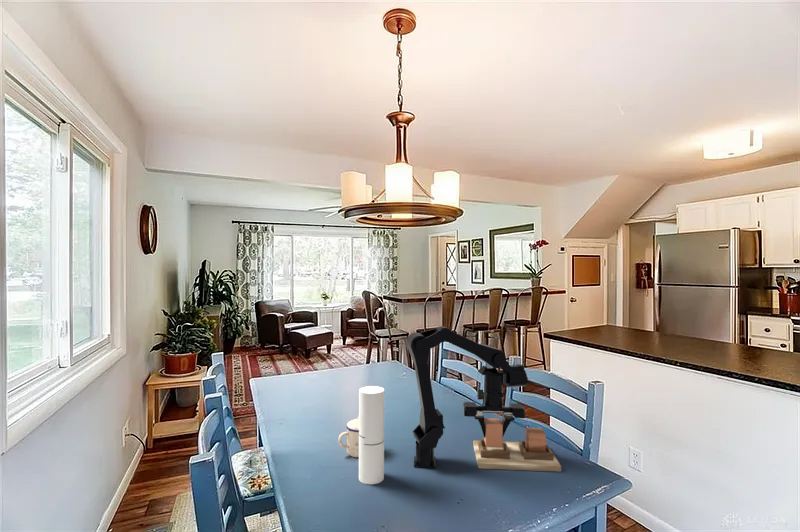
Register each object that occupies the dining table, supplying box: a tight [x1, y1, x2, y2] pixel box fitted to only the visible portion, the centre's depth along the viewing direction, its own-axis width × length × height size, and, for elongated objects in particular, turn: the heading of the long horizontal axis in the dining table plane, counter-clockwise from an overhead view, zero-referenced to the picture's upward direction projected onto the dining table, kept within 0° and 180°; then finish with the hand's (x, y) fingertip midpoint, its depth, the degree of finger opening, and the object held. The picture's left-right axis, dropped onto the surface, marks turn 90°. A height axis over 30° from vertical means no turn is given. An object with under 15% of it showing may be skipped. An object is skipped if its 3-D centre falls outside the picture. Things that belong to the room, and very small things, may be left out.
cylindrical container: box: [358, 385, 385, 485], centre depth 118 cm, size 7×7×25 cm
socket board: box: [472, 427, 562, 473], centre depth 131 cm, size 16×24×8 cm, turn 86°
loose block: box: [483, 417, 504, 447], centre depth 131 cm, size 5×5×7 cm
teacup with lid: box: [337, 415, 359, 459], centre depth 133 cm, size 12×9×12 cm
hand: (493, 437), depth 131 cm, fingers closed on loose block, 5 cm apart
